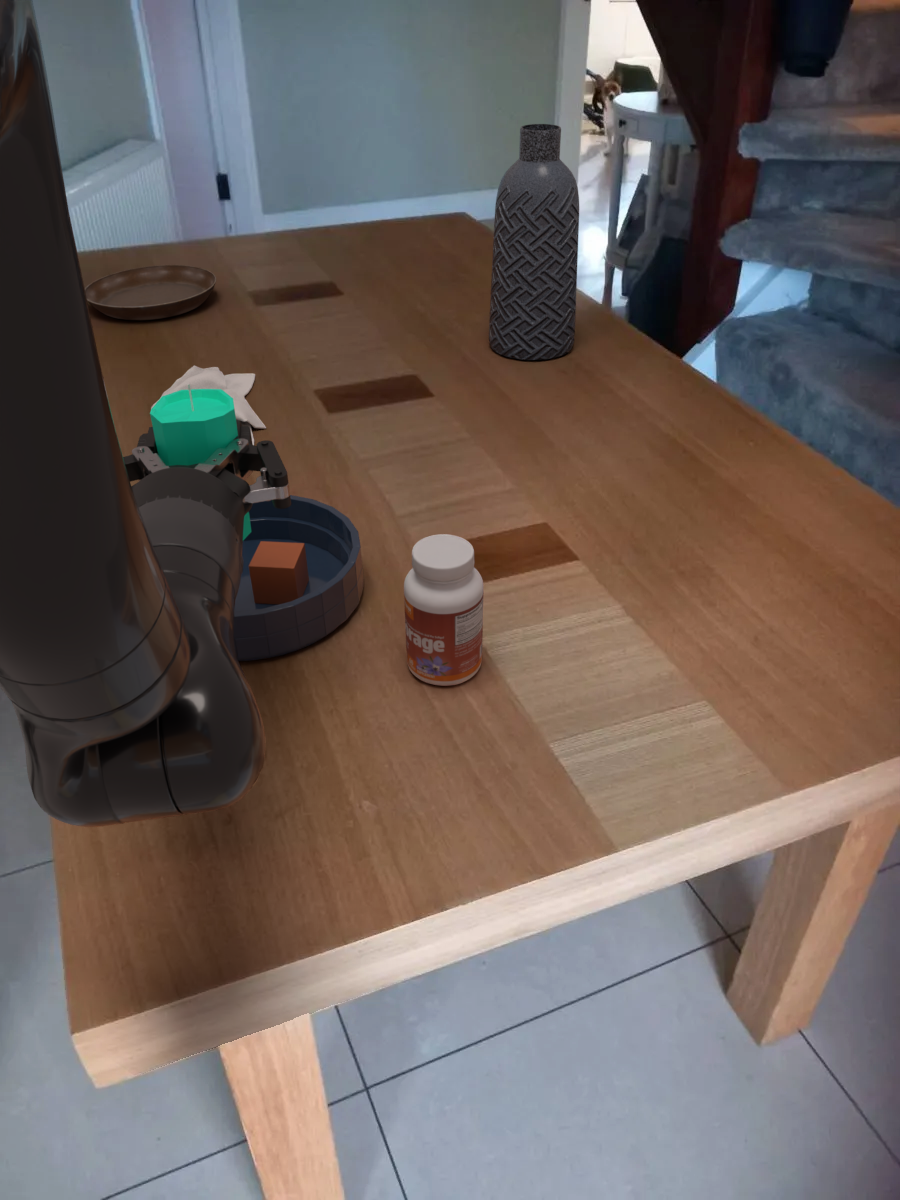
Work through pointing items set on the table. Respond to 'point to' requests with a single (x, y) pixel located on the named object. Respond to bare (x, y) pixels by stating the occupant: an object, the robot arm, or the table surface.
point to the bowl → (327, 589)
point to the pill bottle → (443, 611)
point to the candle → (194, 428)
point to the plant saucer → (151, 291)
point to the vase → (535, 251)
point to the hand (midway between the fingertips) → (197, 435)
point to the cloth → (230, 384)
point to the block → (278, 572)
